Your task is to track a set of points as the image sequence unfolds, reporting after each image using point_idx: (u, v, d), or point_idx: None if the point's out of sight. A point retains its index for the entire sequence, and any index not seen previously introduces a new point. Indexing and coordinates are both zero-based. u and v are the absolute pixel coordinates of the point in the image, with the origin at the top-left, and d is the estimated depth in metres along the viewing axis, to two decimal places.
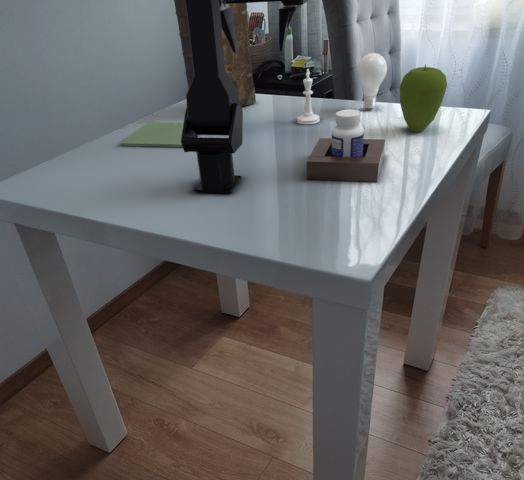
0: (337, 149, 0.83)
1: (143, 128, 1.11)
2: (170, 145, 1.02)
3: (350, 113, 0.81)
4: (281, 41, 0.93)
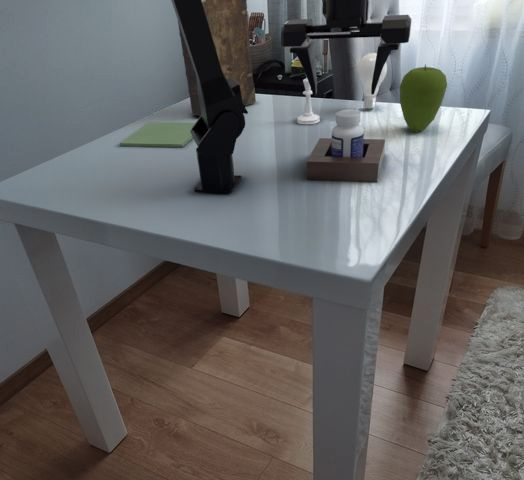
0: (337, 149, 0.83)
1: (143, 128, 1.11)
2: (170, 145, 1.02)
3: (350, 114, 0.81)
4: (375, 83, 0.78)
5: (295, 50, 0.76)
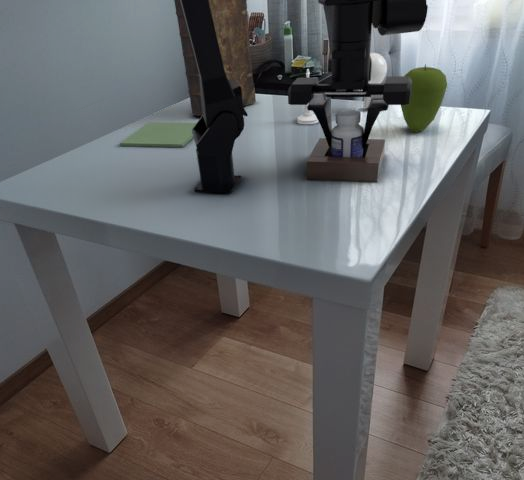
0: (337, 149, 0.83)
1: (143, 128, 1.11)
2: (170, 145, 1.02)
3: (350, 113, 0.81)
4: (365, 138, 0.82)
5: (312, 108, 0.80)
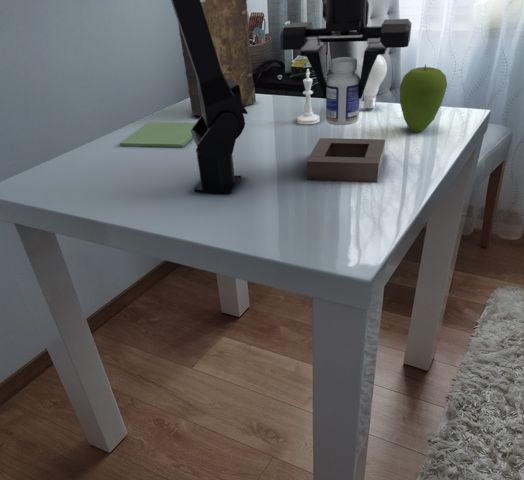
0: (332, 99, 0.79)
1: (143, 128, 1.11)
2: (170, 145, 1.02)
3: (346, 60, 0.77)
4: (362, 87, 0.78)
5: (306, 53, 0.75)
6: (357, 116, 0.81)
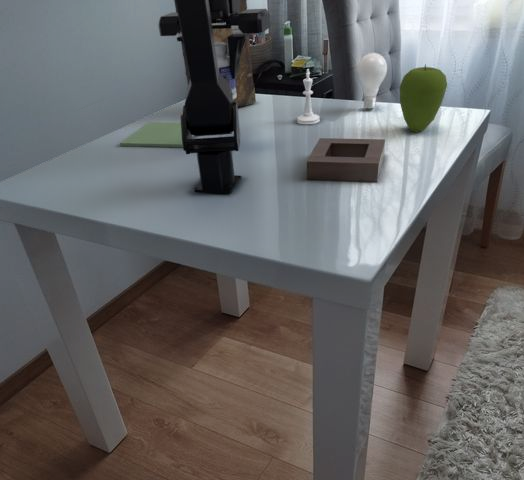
0: None
1: (143, 128, 1.11)
2: (170, 145, 1.02)
3: (217, 45, 0.88)
4: (233, 69, 0.89)
5: (180, 39, 0.87)
6: (233, 94, 0.93)
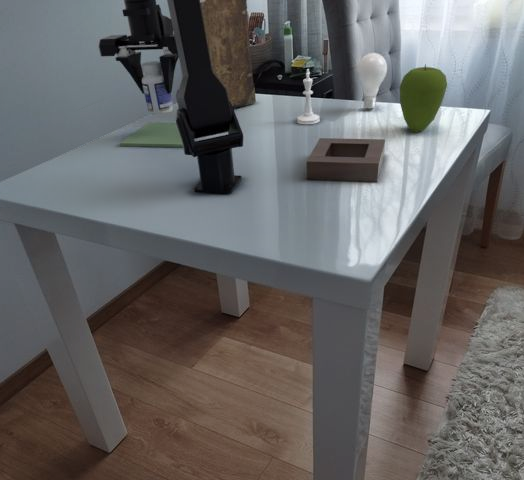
0: (146, 93, 1.01)
1: (143, 128, 1.11)
2: (170, 145, 1.02)
3: (152, 63, 0.99)
4: (167, 85, 1.00)
5: (118, 59, 0.97)
6: (170, 107, 1.03)
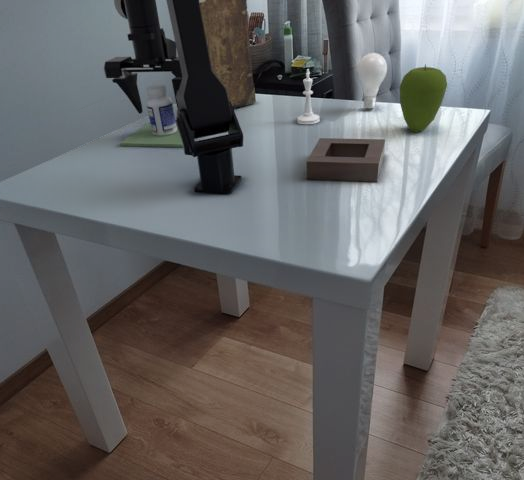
0: (151, 116, 1.04)
1: (143, 128, 1.11)
2: (170, 145, 1.02)
3: (157, 87, 1.01)
4: None
5: (115, 80, 1.00)
6: (173, 129, 1.06)
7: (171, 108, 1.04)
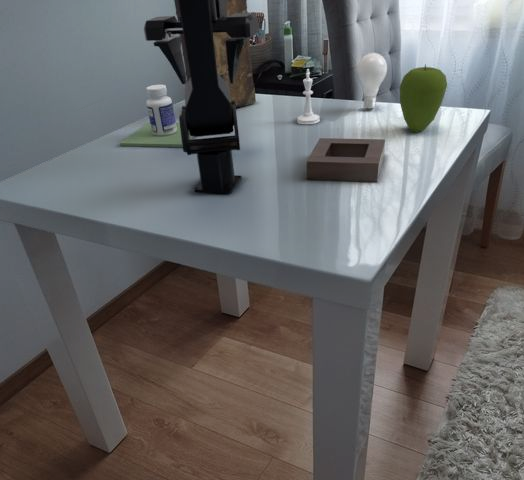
0: (151, 116, 1.04)
1: (143, 128, 1.11)
2: (170, 145, 1.02)
3: (157, 87, 1.01)
4: (231, 73, 0.87)
5: (157, 44, 0.85)
6: (173, 129, 1.06)
7: (171, 108, 1.04)
